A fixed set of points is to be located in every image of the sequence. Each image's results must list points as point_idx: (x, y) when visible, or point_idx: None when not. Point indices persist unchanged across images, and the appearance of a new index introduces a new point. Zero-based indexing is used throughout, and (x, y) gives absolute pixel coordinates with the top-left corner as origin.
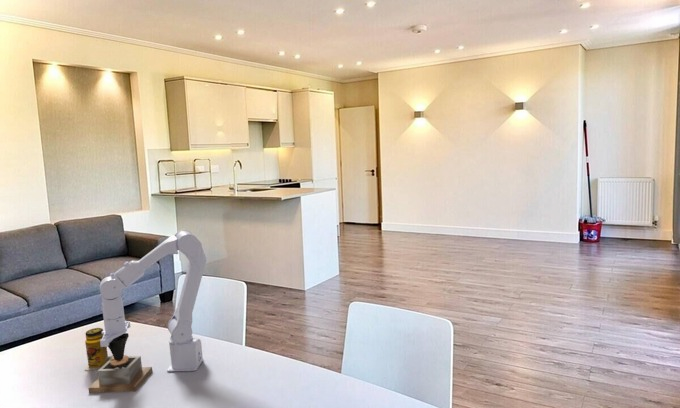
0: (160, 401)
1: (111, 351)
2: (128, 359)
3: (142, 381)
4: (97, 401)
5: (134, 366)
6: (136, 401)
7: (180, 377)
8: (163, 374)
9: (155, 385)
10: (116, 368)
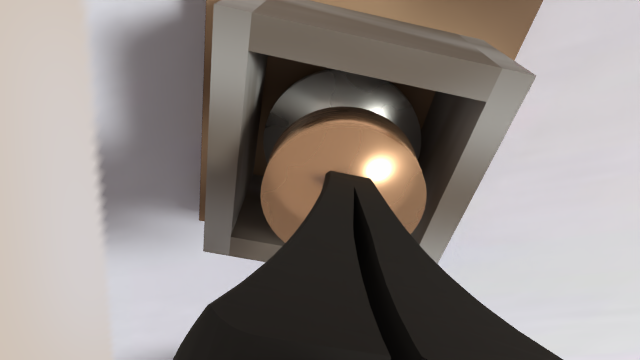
0: (115, 300)
1: (304, 224)
2: (428, 210)
3: None
4: (98, 19)
5: None
6: (111, 224)
7: None
8: None
9: (252, 270)
10: (376, 112)
